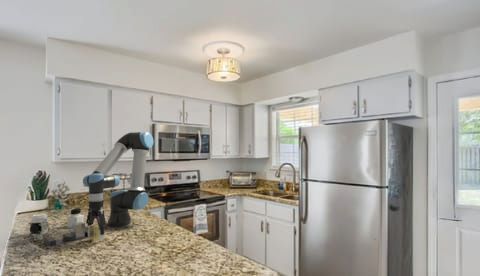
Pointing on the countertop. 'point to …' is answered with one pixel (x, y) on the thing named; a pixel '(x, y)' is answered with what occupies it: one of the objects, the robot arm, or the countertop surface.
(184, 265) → the countertop surface
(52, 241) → the rack
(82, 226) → the light grey upright block
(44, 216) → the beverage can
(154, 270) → the countertop surface
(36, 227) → the pneumatic valve
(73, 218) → the medicine bottle
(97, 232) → the block
